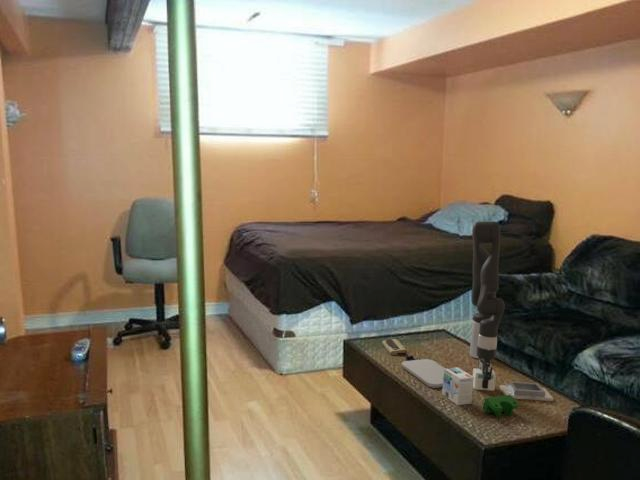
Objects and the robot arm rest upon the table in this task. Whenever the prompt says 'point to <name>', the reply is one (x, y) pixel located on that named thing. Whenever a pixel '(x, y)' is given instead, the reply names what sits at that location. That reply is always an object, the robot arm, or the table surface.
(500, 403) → the clamp
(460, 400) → the light bulb box
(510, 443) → the table surface
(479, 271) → the robot arm
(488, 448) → the table surface
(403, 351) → the computer
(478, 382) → the block
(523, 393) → the grey flat block
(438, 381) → the tablet
